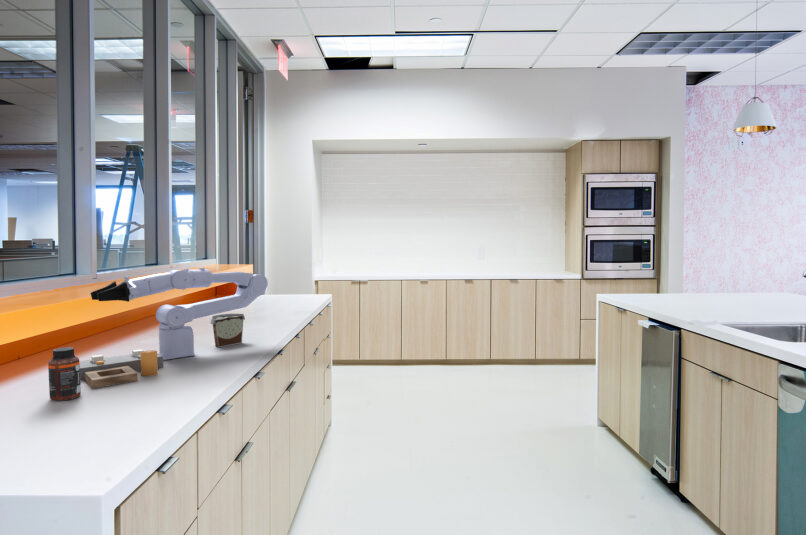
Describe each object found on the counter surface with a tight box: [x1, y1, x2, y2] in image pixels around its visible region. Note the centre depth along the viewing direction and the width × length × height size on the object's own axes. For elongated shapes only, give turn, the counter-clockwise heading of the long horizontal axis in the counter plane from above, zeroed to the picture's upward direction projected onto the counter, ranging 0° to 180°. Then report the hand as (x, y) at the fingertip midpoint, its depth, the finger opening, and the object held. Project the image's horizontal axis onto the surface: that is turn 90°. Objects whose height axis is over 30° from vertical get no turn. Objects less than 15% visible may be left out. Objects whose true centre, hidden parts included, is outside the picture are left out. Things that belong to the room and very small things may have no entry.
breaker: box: [131, 348, 145, 358], centre depth 142 cm, size 2×2×2 cm
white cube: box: [90, 354, 105, 363], centre depth 135 cm, size 2×2×2 cm
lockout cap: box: [140, 349, 159, 377], centre depth 134 cm, size 4×4×6 cm
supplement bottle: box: [47, 346, 82, 402], centre depth 114 cm, size 6×6×11 cm
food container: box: [210, 313, 246, 349], centre depth 172 cm, size 12×6×10 cm, turn 145°
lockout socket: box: [84, 366, 139, 389], centre depth 128 cm, size 10×10×2 cm
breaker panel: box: [79, 352, 164, 381], centre depth 138 cm, size 20×9×4 cm, turn 131°
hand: (94, 296), depth 139 cm, fingers open, 7 cm apart
